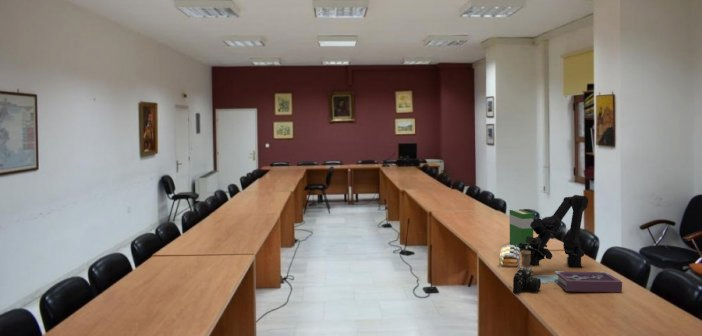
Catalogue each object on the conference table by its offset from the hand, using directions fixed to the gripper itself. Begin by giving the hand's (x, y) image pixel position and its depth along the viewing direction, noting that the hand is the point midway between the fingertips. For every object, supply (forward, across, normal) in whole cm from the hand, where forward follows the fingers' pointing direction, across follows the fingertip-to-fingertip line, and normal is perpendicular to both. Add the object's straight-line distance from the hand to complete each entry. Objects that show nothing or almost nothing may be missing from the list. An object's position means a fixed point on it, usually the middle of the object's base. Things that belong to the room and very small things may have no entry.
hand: (526, 263), depth 263 cm
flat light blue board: (+2, +11, +8) cm, 13 cm away
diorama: (-4, -25, +14) cm, 29 cm away
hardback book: (-26, -45, +35) cm, 63 cm away
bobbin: (+4, 0, +5) cm, 6 cm away
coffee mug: (-9, -15, +19) cm, 26 cm away
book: (-3, +28, +12) cm, 30 cm away
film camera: (+17, +16, -6) cm, 23 cm away
